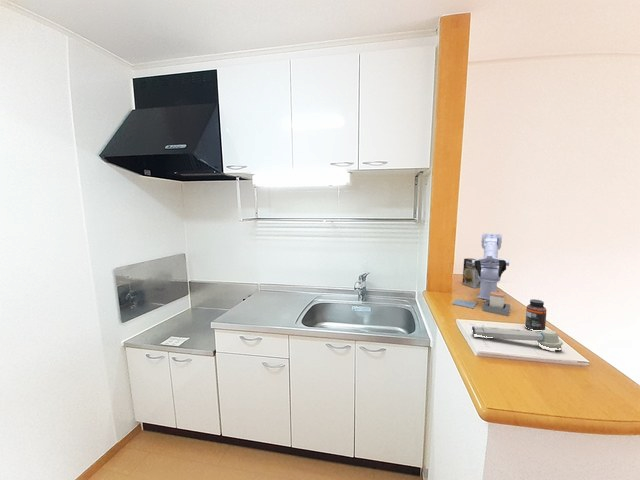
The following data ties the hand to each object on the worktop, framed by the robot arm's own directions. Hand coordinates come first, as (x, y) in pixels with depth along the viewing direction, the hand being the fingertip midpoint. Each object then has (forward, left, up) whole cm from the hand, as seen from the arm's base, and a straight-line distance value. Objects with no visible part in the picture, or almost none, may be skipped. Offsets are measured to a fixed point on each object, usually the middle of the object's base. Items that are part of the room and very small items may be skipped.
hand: (489, 275), depth 120 cm
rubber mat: (-3, -10, -16) cm, 19 cm away
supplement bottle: (+11, +17, -17) cm, 27 cm away
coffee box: (-41, -14, -17) cm, 46 cm away
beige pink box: (-3, +3, -16) cm, 17 cm away
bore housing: (-3, +3, -16) cm, 17 cm away
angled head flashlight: (+29, +12, -17) cm, 36 cm away
